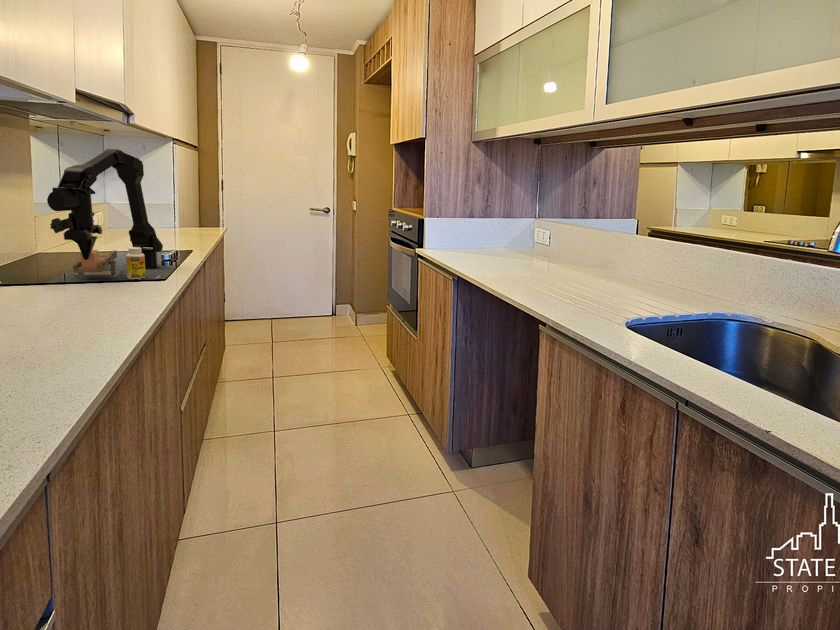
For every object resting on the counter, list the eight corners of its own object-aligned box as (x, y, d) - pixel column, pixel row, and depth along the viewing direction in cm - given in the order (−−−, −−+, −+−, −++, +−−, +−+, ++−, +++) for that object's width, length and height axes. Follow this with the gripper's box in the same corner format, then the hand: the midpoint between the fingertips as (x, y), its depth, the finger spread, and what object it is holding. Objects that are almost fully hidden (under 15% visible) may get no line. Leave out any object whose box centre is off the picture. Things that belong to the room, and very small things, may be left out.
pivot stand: (81, 273, 200) (79, 259, 199) (119, 273, 203) (118, 259, 202) (74, 277, 192) (72, 262, 191) (114, 277, 195) (113, 262, 194)
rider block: (86, 263, 192) (84, 250, 190) (99, 263, 193) (98, 250, 191) (81, 267, 187) (80, 253, 186) (95, 267, 188) (94, 253, 187)
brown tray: (92, 256, 206) (91, 249, 205) (117, 256, 208) (116, 250, 207) (73, 272, 186) (72, 265, 185) (101, 272, 188) (100, 265, 187)
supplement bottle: (130, 280, 192) (128, 249, 190) (125, 277, 196) (122, 247, 194) (148, 279, 196) (146, 248, 194) (142, 276, 200) (140, 246, 198)
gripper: (61, 206, 188) (66, 255, 192) (41, 211, 170) (47, 264, 174) (100, 207, 191) (104, 255, 194) (84, 212, 173) (88, 264, 177)
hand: (86, 259), depth 185 cm, fingers closed
